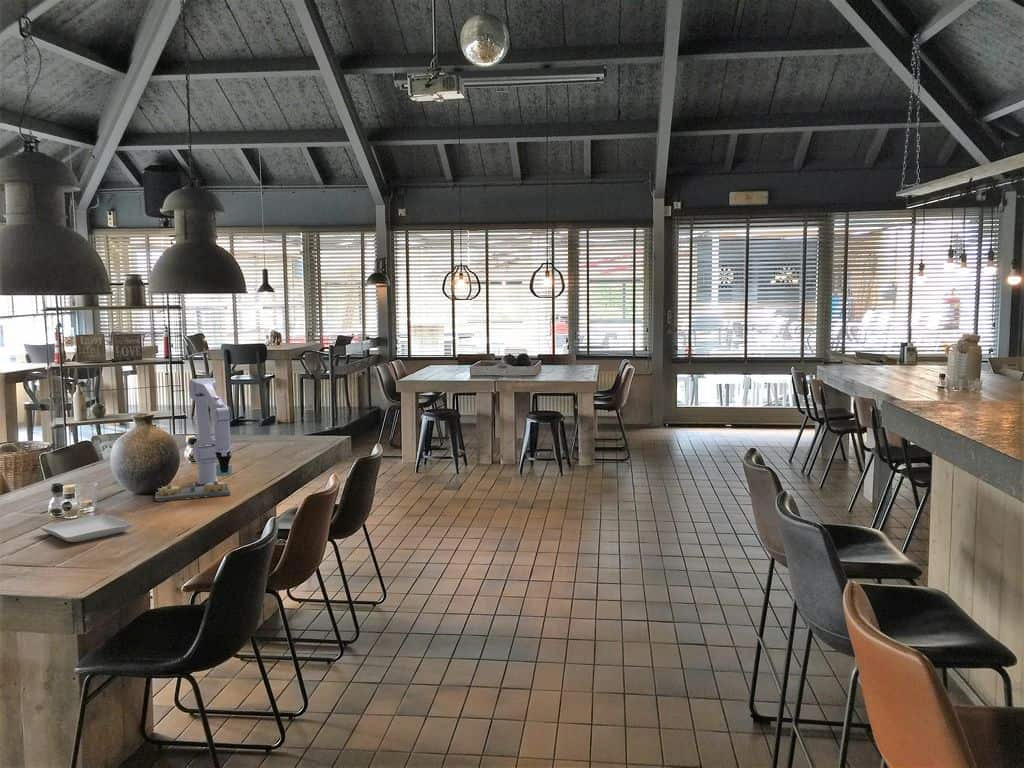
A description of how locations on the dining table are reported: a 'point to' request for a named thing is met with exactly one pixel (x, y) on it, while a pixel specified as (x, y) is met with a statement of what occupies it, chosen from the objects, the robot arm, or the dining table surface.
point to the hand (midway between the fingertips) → (223, 470)
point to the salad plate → (87, 528)
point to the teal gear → (219, 473)
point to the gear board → (192, 491)
